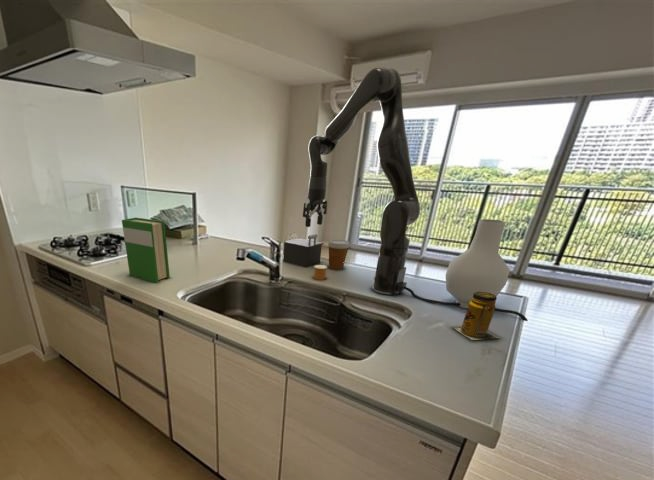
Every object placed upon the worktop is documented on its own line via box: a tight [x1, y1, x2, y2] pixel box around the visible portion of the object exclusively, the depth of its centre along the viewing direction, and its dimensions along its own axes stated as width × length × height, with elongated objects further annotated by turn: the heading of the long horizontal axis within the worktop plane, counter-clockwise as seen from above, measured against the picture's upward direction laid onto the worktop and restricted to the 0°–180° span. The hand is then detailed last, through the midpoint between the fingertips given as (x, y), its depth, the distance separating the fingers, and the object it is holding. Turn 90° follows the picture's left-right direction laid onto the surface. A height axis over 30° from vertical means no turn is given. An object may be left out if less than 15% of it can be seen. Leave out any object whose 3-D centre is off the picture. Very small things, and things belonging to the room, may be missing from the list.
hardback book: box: [121, 217, 171, 284], centre depth 142 cm, size 18×7×24 cm, turn 53°
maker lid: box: [283, 233, 324, 248], centre depth 160 cm, size 14×12×5 cm
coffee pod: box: [313, 264, 328, 281], centre depth 142 cm, size 5×5×5 cm
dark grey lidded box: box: [282, 242, 323, 268], centre depth 163 cm, size 14×12×9 cm
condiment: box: [453, 292, 501, 341], centre depth 94 cm, size 7×8×12 cm
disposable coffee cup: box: [327, 239, 351, 270], centre depth 153 cm, size 10×10×12 cm
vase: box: [445, 218, 511, 309], centre depth 109 cm, size 17×16×28 cm
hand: (313, 225), depth 154 cm, fingers open, 8 cm apart
